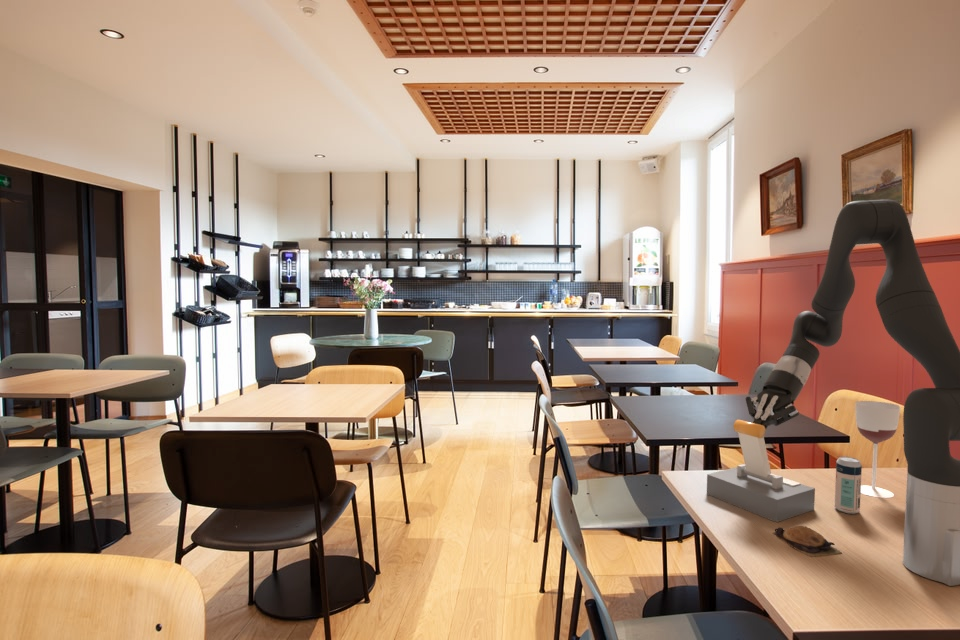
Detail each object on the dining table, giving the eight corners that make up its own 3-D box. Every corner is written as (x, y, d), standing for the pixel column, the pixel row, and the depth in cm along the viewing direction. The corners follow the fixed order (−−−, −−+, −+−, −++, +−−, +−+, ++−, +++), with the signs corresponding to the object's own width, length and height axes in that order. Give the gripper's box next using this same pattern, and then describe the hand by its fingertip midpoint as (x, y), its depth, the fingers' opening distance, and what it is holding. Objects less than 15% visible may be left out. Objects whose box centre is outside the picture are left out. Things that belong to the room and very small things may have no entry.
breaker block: (743, 484, 138) (744, 455, 138) (814, 509, 123) (815, 477, 122) (706, 494, 132) (707, 464, 131) (776, 522, 116) (777, 488, 115)
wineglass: (843, 488, 136) (847, 403, 134) (866, 482, 140) (869, 399, 138) (881, 500, 128) (885, 410, 126) (904, 494, 132) (908, 406, 130)
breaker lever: (750, 470, 131) (738, 416, 127) (777, 479, 125) (766, 423, 121) (742, 476, 129) (730, 422, 126) (770, 486, 123) (758, 429, 120)
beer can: (851, 506, 124) (854, 456, 123) (864, 515, 119) (866, 463, 119) (830, 505, 125) (832, 455, 124) (841, 514, 120) (844, 462, 119)
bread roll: (845, 557, 102) (846, 538, 102) (807, 560, 101) (808, 541, 101) (803, 531, 113) (804, 514, 112) (767, 534, 111) (768, 517, 111)
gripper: (755, 365, 134) (722, 419, 130) (808, 372, 123) (774, 432, 118) (768, 383, 137) (736, 437, 132) (821, 392, 126) (788, 452, 121)
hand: (754, 435), depth 125 cm, fingers closed
